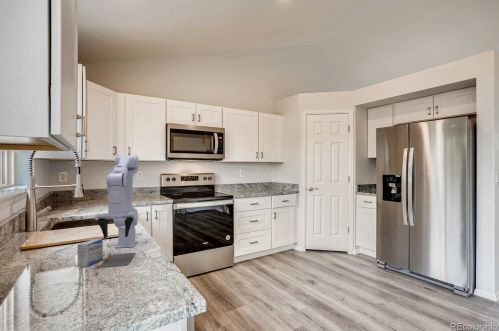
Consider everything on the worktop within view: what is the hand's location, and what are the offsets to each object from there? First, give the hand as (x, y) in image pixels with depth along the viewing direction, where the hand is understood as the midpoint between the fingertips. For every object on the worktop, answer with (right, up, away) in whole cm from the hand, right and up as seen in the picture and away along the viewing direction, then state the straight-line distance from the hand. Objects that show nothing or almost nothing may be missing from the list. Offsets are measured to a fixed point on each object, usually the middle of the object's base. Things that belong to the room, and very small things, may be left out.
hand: (116, 236), depth 100 cm
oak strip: (-5, -10, 0) cm, 11 cm away
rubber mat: (0, -10, +2) cm, 10 cm away
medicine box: (-10, -10, -1) cm, 14 cm away
